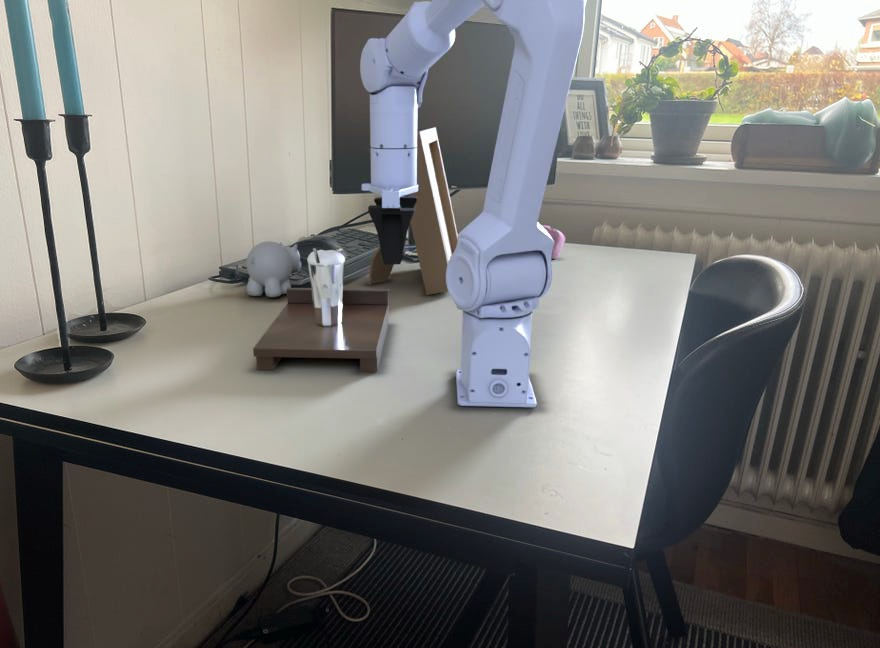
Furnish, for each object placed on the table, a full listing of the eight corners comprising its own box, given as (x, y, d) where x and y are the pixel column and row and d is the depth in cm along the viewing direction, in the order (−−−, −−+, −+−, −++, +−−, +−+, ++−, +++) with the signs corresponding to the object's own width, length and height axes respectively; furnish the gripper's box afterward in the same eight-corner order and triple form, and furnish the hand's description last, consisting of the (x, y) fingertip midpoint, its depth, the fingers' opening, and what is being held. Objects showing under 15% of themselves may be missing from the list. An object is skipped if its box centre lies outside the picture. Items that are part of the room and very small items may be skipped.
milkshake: (301, 327, 87) (297, 247, 84) (319, 315, 92) (316, 239, 89) (334, 331, 86) (331, 249, 82) (352, 319, 91) (350, 241, 87)
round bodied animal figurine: (319, 285, 119) (317, 235, 116) (275, 302, 109) (272, 247, 106) (284, 281, 122) (281, 232, 120) (239, 297, 112) (234, 243, 110)
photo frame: (463, 266, 133) (467, 127, 125) (452, 296, 113) (457, 131, 104) (385, 264, 135) (384, 126, 127) (362, 292, 115) (359, 131, 107)
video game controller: (561, 264, 142) (569, 231, 143) (555, 257, 138) (563, 223, 139) (516, 258, 147) (524, 226, 148) (508, 252, 143) (516, 219, 144)
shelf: (376, 375, 80) (376, 333, 79) (254, 373, 81) (251, 331, 79) (388, 323, 99) (388, 288, 97) (289, 322, 100) (287, 287, 98)
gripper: (366, 144, 94) (368, 246, 98) (355, 151, 80) (357, 269, 85) (419, 144, 93) (418, 246, 98) (417, 151, 80) (416, 270, 84)
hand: (394, 257), depth 91 cm, fingers open, 7 cm apart
